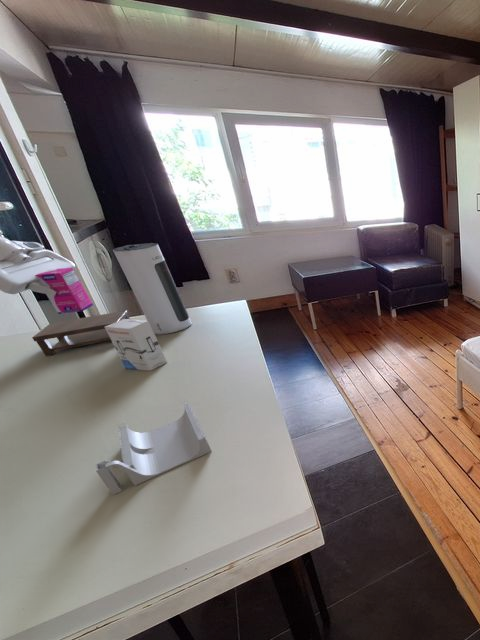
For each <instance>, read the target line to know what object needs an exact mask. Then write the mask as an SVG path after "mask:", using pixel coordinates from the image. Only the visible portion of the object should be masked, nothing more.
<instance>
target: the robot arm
mask: <svg viewBox="0 0 480 640" xmlns="http://www.w3.org/2000/svg"><path fill="white" fill-rule="evenodd" d="M61 268H73V269H74V270H75V269H76V265H75V263H73V262H72V261H71V260H69V259H68V258H66V257H64V256H62V255H61V254H58V253H56V252H55V251H53V250H50V249H45V246H44V245H43V244H41V243H39V242H35V241H19V240H10V239H9V238H6V237H4V236H1V235H0V291H1V292H3V293H5V294H8V295H17V294H19V293H22V292H25V291H28V290H30V291H32V292H34V293H35V292H36V293H40V294H45V295H46V294H47V295H49V296H51V297H53V296H56V295H58V293H59V291H58V290H57V289H55V288H53V287H51V288H48V287H45V286H42V285H40V283H39V282H38V280H39V278H38V277H37V276H35V275H37V274H39V273H42V272H45V271H48V270H50V269H61ZM47 295H46V296H47Z"/></svg>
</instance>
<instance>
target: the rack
mask: <svg viewBox="0 0 480 640" xmlns="http://www.w3.org/2000/svg"><path fill="white" fill-rule="evenodd" d="M123 319H131V318H130V316H129V311H128V310H122V311H116V312H110V313H104V314H98V315H91V316H85V317H79V318H74V319H68V320H61V321H54V322H50V323H49V324H48V325H46V326H45V327H44V328H42V329H41V330H40V331H39V332H37V333H36V334H35V335H33V336H32V337H31V338H32V340H33V342H36V344H37V345H38V346H39V348H40V349H41V351H42V353H43V354H44V356H45V357H50V356H54V355H55V354H56V351H60V350H65V349H71V348H76V347H81V346H86V345H92V344H96V343H97V344H98V343H101V342H107V341H111V339H110V337H109V335H108V333H107V331H106V329H105V326H108V325H110V324H113V323H115V322H118V321H120V320H123ZM50 339H57V342H56V343H55V344H54V345H53V346H52V344H51V343H50V341H49V340H50Z"/></svg>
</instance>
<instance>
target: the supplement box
mask: <svg viewBox="0 0 480 640" xmlns="http://www.w3.org/2000/svg"><path fill="white" fill-rule="evenodd" d="M35 276H37V277H38V278H39V280H38V282H39V283H40V285H42V286H45V287H48V288H51V287H53V288H55V289H57V290H58V291H59V293H58V295H56V296H53V297H51V296H49V295H47V294H45V295H46V296H47V298H48V300H49V301H50V303H51V304H52V306H53V308H54V310H55V311H56V313H57V314H58V315H63V314H69V313H71V314H72V313H79V312H84V311H86V310H87V309H89V308H91V307H92V306H94V303H93V301H92V300H91V298H90V296H89V294H88V293H87V291H86V289H85V288H84V285H83V284H82V282H81V280H80V279H79V277H78V275H77V273H76V271H75V269H73V268H61V269H50V270H48V271H45V272H42V273H39V274H37V275H35Z"/></svg>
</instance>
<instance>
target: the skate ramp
mask: <svg viewBox="0 0 480 640" xmlns="http://www.w3.org/2000/svg"><path fill="white" fill-rule="evenodd" d="M182 406H183V407H184V412H183V414H182V415H181V417H179V418H178V419H177V420H175V421H172V422H169V423H167V424H165V425H162V426H159V427H156V428H154V429H152V430H149V431H144V432H138V431H134V430H132V429H130V428H129V427H128V425H125V423H123V425H122V426H120V424H118V425H117V427H118V435H119V442H120V443H119V444H120V451H121V459H122V461H120V460H111V461H106V460H103V461H100V462H98V463H95V471H96V474H97V475H98V476H99V478H100V479H101V480H102V482H103V483H104V485H105V486H106V489H108V491H109V492H110V494H111V495H112V496H113V495H114V496H115V495H116V494H118V493H121V492H122V489H121V488H120V487H119V486H121V485H122V484H121V482H120V481H119V479H118V478H117V476H116V475H115V473H114V472H113V470H112V468H116V469H121V470H122V471H124V472H125V473H126V475H127V476H128V477H129V479H130V481H131V482H132V484H133V485H134V486H137V485H139V484H141V483H144V482H146V481H148V480H150V479H153V478H155V477H158V476H160V475H162V474H164V473H166V472H168V471H171V470H173V469H175V468H177V467H180V466H182V465H184V464H187V463H189V462H191V461H194V460H196V459H197V458H200V457H202V456H204V455H207V454H209V453H211V452H212V448H211V447H210V445H209V442H208V440H207V438H206V436H205V434H204V431H203V429H202V427H201V425H200V423H199V421H198V418H197V416H196V414H195V412H194V410H193V408H192V406H191V403H190V402H188V401H184V403H182Z"/></svg>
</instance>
